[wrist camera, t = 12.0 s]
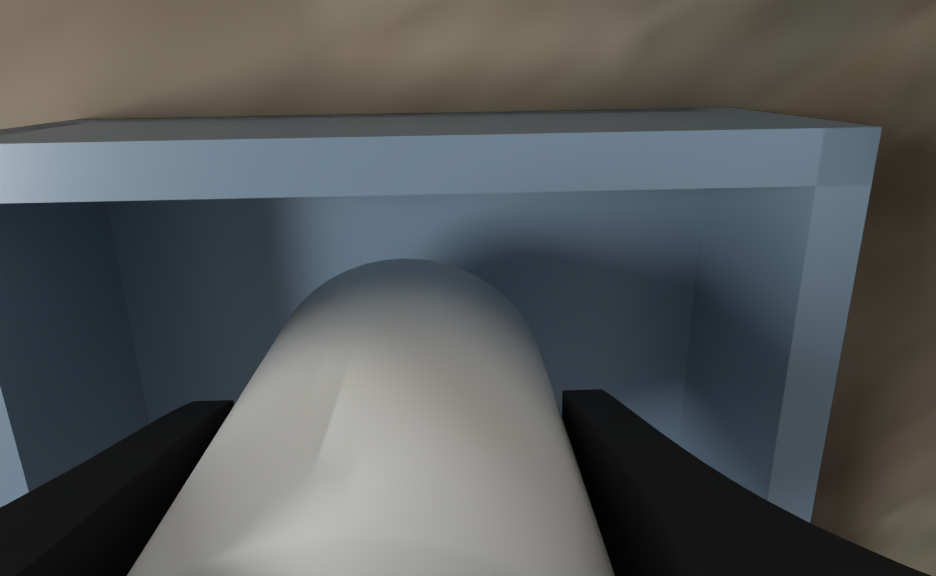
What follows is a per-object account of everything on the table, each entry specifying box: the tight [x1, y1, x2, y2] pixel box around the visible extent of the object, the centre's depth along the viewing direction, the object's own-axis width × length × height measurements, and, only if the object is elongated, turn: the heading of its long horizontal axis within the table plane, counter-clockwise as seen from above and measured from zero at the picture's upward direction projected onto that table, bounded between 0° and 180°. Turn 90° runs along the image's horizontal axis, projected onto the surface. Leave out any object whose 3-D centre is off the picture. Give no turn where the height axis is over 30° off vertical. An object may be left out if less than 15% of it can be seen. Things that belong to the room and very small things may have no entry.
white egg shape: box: [127, 258, 615, 576], centre depth 9 cm, size 5×5×7 cm
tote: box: [0, 108, 882, 523], centre depth 14 cm, size 18×14×5 cm
